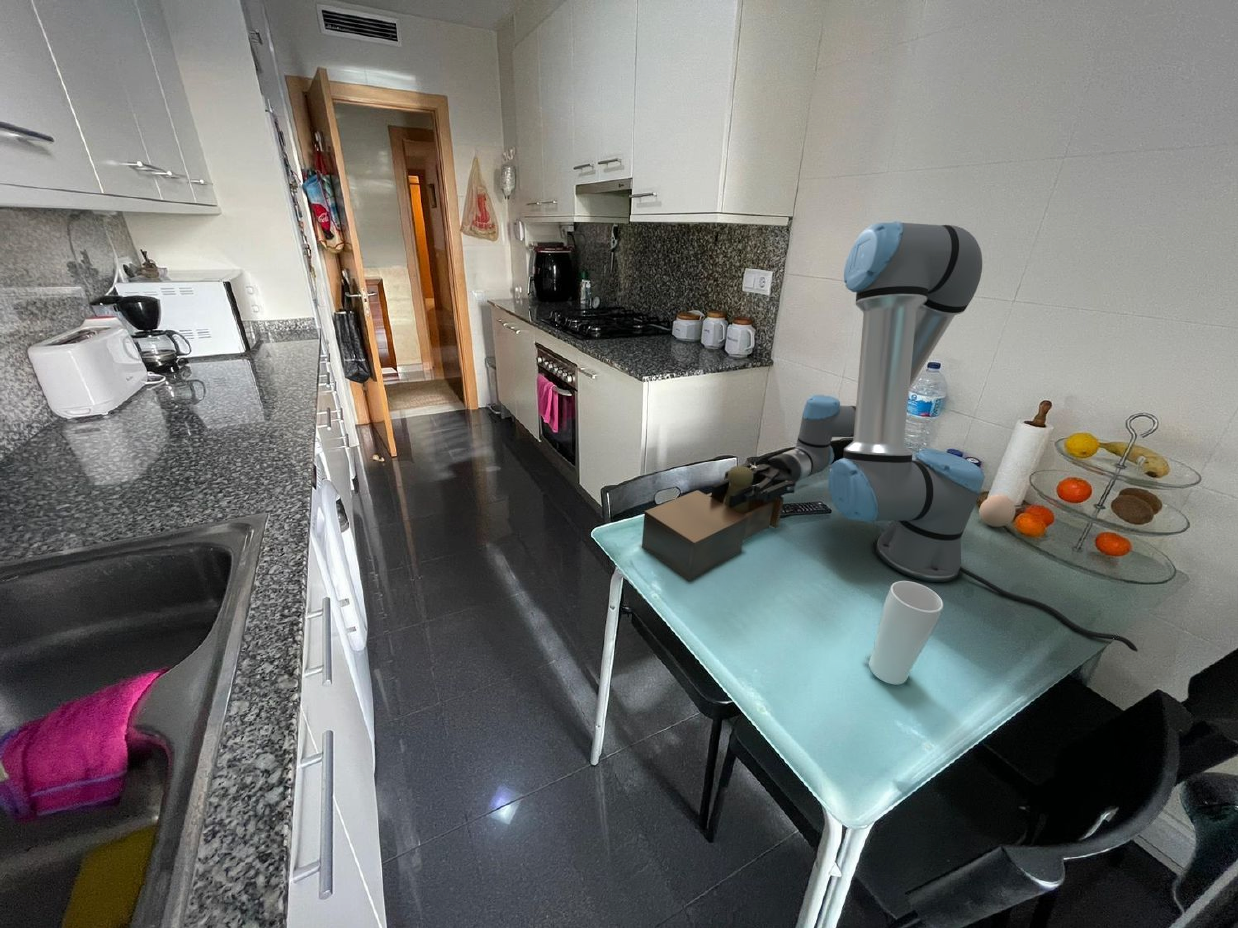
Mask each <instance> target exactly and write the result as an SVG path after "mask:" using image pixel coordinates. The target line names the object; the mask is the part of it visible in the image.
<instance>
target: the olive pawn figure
mask: <svg viewBox="0 0 1238 928" xmlns="http://www.w3.org/2000/svg"><path fill="white" fill-rule="evenodd" d="M729 470H730V471H729ZM729 470H728V471H729V473H728V479H729V481H730V482H729V486H728V489H727V492H726V495H725V498H724V501H723V504H724V505H726V506H728V507H729V500H730V495H731V494H734V493H736V492H738V491H741V490H743V489H745V488H748V487H749V485H750V484H751V485H752V484H753V483H752V481H753V472H752V470H750V469H749V468H747V467H744V466H740V465H735V466H732V467H731V468H730V469H729ZM730 508H731V507H730ZM732 509H734V510H736V511H737V512H739V513H741V514H743V515H744V514H747V513H748V510H749V502H743V503H741V504H739V505H737V506H734V507H732Z"/></svg>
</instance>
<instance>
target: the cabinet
mask: <svg viewBox="0 0 1238 928" xmlns="http://www.w3.org/2000/svg"><path fill="white" fill-rule="evenodd" d="M643 513H644V515H643V525H642V539H641V547H642V548H643V549H644V550H646V551H647V552H648V553H650V554H652V556H654V557H655V558H657V559H658V560H659V561H661V562H662V563H664V564H665V565H666V566H668V567H669V568H671V569H672V570H673V571H675V572H676V573H678V574H679V575H680V576H682V577H683V578H684V579H686V580H688V581H689V582H690V581H692V580H694V579H695V578H696V579H697V577H699V576H701V575H703V574H705V573H706V572H708V571H710V570H712V569H714V568H715V567H718V566H719V565H721V564H722V563H724V562H727V561H728V560H730V559H732V558H734V557H735V556H737V555H739V554H741V553H742V551H743V546H744V541H743V540H744V535H745V530H746V524H747V519H748V517H747V516H745V515H743V514H741V513H739V512H737V511H736V510H734V509H732V508H730V507H728V506H726V505H724V504H723V503H721V502H719V501H717V500H715V499H713V498H711V497H710V496H708V495H707V494H706V493H704V492H702V491H700V490H699V489H697V490H694V491H692V492H689V493H686V494H685V495H682V496H679V497H677V498H673V499H672V500H669V501H667V502H663V503H662V504H659V505H657V506H654V507H652V508H649V509H647V510H644V512H643Z"/></svg>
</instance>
